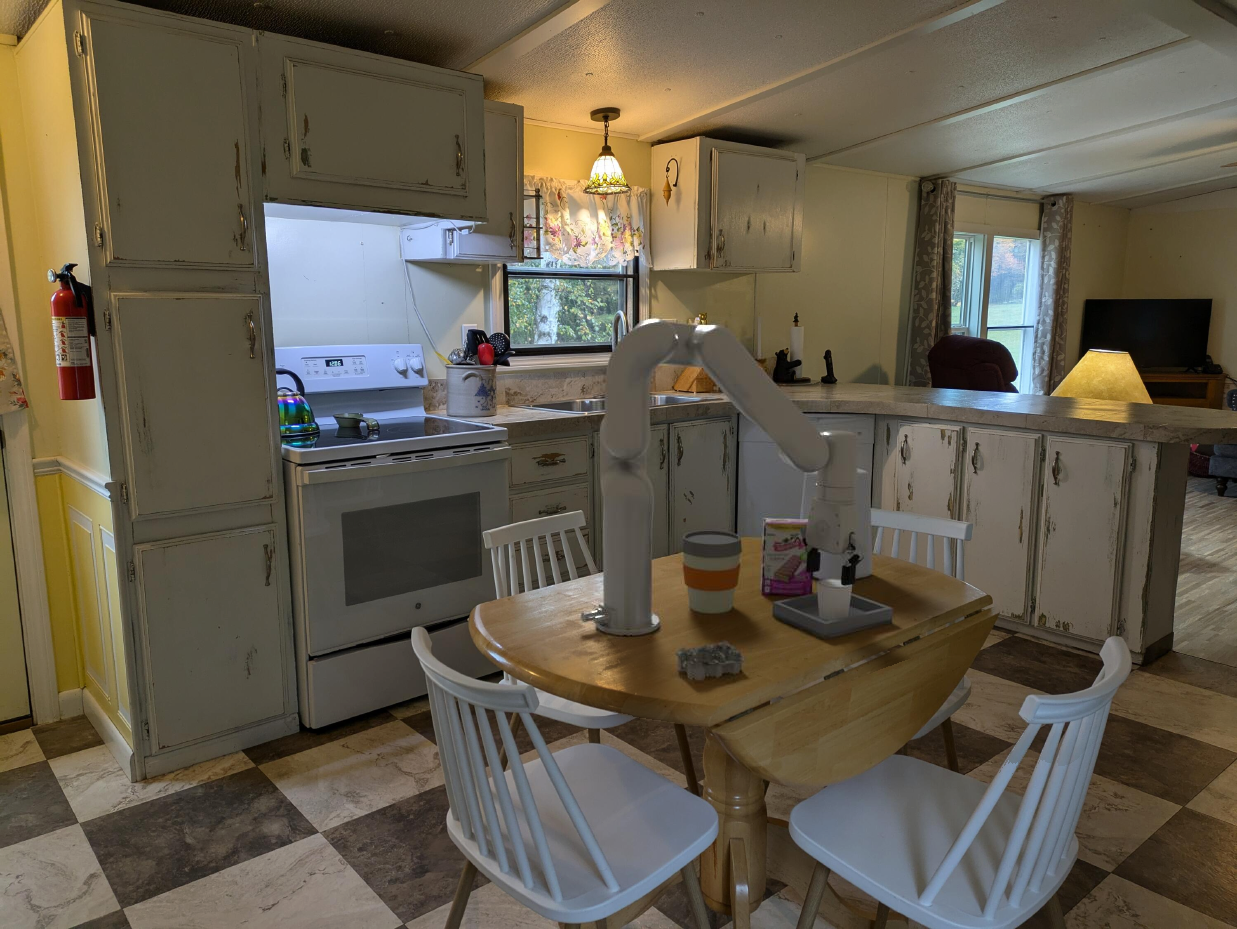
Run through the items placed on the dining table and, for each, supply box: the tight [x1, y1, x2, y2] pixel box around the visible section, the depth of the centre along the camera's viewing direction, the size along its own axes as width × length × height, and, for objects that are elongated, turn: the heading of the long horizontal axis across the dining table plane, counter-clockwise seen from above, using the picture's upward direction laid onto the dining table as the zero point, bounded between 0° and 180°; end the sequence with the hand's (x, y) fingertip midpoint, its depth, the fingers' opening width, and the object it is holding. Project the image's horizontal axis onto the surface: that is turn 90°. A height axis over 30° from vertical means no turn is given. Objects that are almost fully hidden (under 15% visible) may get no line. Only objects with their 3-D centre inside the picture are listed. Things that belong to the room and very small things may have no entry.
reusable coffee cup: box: [681, 529, 743, 614], centre depth 177 cm, size 12×13×15 cm
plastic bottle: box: [799, 468, 873, 580], centre depth 200 cm, size 15×15×28 cm
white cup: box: [816, 578, 853, 621], centre depth 168 cm, size 7×7×7 cm
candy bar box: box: [760, 517, 814, 596], centre depth 186 cm, size 11×5×16 cm, turn 84°
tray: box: [771, 592, 894, 640], centre depth 169 cm, size 18×15×3 cm
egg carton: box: [674, 640, 747, 681], centre depth 145 cm, size 11×8×4 cm
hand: (829, 578), depth 168 cm, fingers open, 9 cm apart
